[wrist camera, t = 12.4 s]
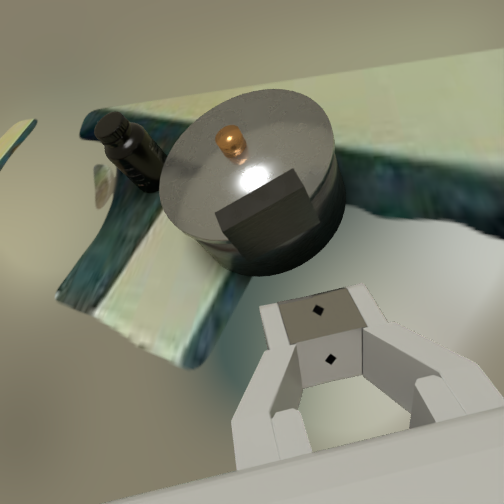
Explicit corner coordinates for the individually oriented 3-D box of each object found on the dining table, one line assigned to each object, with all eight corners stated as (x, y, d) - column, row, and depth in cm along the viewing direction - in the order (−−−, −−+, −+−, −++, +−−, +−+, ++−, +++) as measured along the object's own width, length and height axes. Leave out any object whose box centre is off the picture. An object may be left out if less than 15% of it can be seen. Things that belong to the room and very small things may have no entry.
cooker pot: (376, 224, 47) (365, 177, 40) (227, 304, 49) (191, 273, 42) (305, 126, 58) (287, 75, 51) (188, 195, 61) (154, 155, 54)
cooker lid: (382, 189, 38) (374, 146, 33) (191, 293, 41) (158, 267, 36) (288, 69, 51) (273, 26, 46) (149, 154, 54) (121, 121, 49)
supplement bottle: (150, 158, 69) (103, 104, 59) (181, 160, 65) (137, 104, 55) (131, 191, 66) (79, 141, 57) (163, 196, 63) (113, 144, 53)
